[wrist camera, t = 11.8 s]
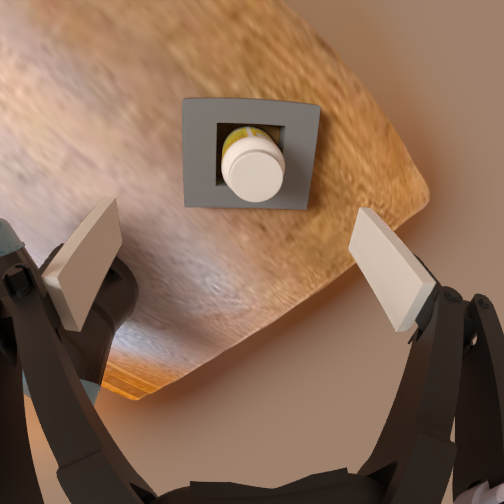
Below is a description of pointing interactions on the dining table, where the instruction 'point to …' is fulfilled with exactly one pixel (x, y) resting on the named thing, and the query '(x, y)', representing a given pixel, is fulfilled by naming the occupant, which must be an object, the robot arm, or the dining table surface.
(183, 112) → the bottle holder
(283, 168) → the pill bottle
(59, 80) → the dining table surface
